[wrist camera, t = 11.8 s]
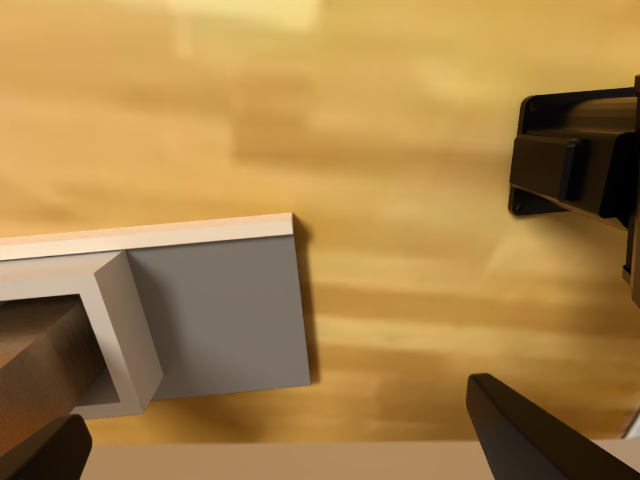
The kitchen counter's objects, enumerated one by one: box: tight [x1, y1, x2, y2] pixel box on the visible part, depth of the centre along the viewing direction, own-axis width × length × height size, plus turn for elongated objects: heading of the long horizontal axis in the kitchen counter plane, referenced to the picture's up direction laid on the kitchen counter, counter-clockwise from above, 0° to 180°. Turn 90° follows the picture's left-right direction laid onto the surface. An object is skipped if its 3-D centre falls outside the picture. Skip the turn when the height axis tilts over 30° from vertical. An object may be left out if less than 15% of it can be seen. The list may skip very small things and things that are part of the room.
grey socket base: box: [0, 212, 311, 420], centre depth 20 cm, size 20×12×4 cm, turn 94°
